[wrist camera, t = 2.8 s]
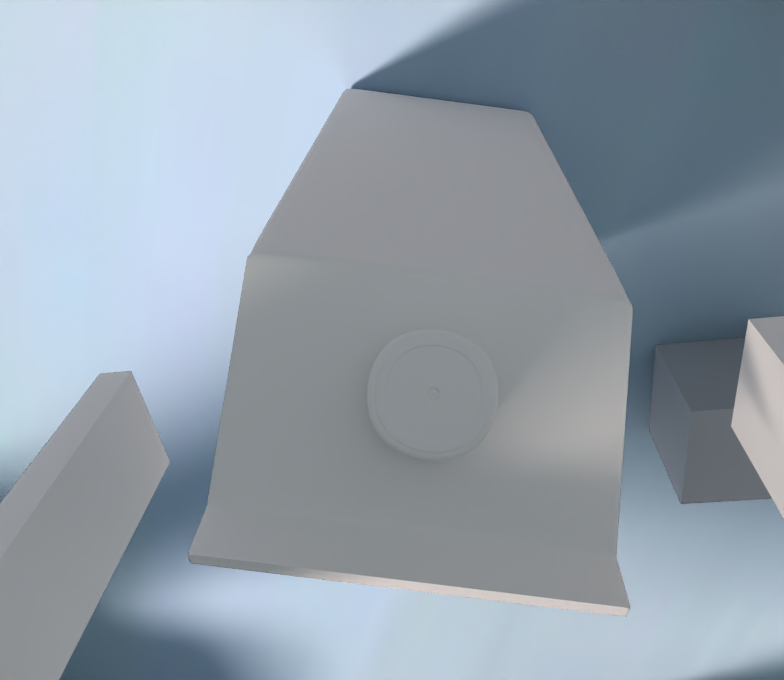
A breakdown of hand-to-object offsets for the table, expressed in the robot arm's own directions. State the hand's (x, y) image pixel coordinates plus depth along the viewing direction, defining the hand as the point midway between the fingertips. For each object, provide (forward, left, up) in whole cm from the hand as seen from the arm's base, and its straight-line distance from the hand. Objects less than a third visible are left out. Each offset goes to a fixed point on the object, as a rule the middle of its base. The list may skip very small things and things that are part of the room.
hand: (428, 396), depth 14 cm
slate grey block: (+12, -11, -14) cm, 22 cm away
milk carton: (0, 0, -14) cm, 14 cm away
